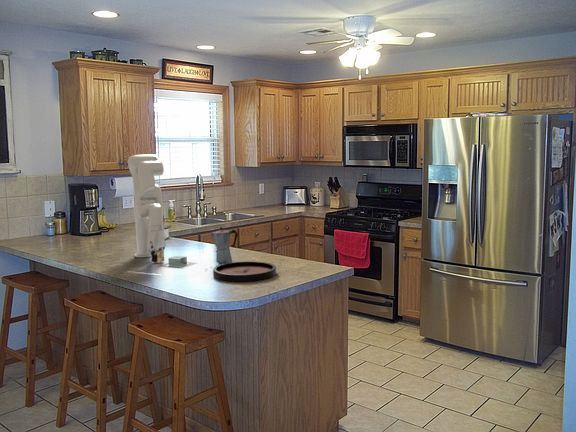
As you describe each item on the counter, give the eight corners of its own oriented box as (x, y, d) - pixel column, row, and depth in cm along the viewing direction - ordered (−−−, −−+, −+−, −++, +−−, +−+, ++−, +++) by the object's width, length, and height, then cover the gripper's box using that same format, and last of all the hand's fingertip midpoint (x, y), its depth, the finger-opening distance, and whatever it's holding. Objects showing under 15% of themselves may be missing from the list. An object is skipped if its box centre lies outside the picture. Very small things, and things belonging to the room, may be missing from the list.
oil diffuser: (175, 241, 386) (174, 217, 384) (141, 241, 387) (139, 217, 385) (183, 235, 411) (182, 212, 409) (151, 235, 412) (150, 213, 410)
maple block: (156, 260, 312) (156, 249, 311) (164, 260, 310) (163, 250, 309) (151, 262, 307) (150, 251, 306) (158, 262, 305) (158, 252, 304)
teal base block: (176, 262, 307) (175, 255, 306) (187, 263, 304) (186, 256, 304) (168, 265, 301) (168, 258, 300) (179, 266, 298) (179, 259, 297)
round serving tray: (241, 278, 257) (200, 268, 279) (242, 286, 258) (200, 276, 279) (288, 266, 280) (246, 258, 301) (289, 274, 280) (247, 266, 302)
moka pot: (209, 262, 312) (207, 226, 310) (235, 259, 318) (234, 224, 315) (213, 265, 304) (211, 229, 301) (240, 262, 309) (239, 227, 306)
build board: (173, 262, 313) (173, 260, 312) (198, 264, 306) (198, 262, 306) (157, 268, 299) (157, 266, 299) (182, 270, 292) (182, 268, 292)
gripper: (160, 225, 315) (161, 256, 317) (140, 230, 299) (142, 263, 302) (171, 226, 312) (172, 257, 314) (152, 231, 296) (153, 264, 299)
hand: (157, 260), depth 308 cm, fingers closed on maple block, 5 cm apart
